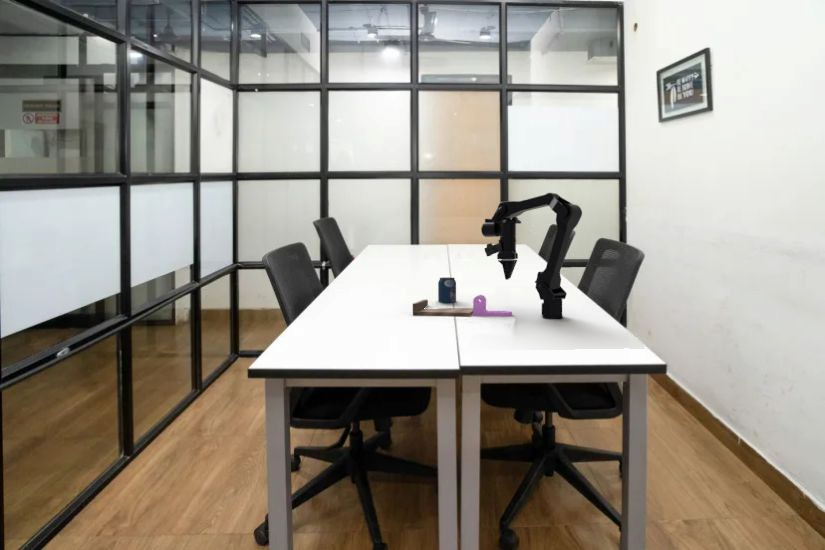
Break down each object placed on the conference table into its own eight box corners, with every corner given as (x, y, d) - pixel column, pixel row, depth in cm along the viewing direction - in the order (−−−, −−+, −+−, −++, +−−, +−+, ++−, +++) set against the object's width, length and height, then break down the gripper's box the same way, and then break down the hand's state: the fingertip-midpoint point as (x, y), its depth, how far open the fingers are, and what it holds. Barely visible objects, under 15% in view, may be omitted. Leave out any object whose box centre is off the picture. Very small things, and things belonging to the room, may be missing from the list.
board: (476, 311, 215) (476, 300, 215) (469, 316, 197) (469, 304, 197) (423, 310, 220) (423, 299, 220) (412, 315, 202) (412, 303, 202)
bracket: (473, 315, 200) (473, 295, 200) (475, 314, 206) (475, 294, 206) (511, 316, 197) (511, 296, 197) (512, 315, 203) (512, 295, 202)
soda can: (455, 309, 222) (455, 278, 221) (437, 309, 223) (437, 278, 222) (456, 307, 229) (456, 277, 228) (439, 307, 230) (439, 277, 229)
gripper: (488, 237, 223) (488, 277, 224) (483, 235, 205) (483, 280, 205) (517, 236, 220) (517, 277, 221) (514, 235, 202) (514, 280, 203)
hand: (507, 278), depth 213 cm, fingers open, 9 cm apart
